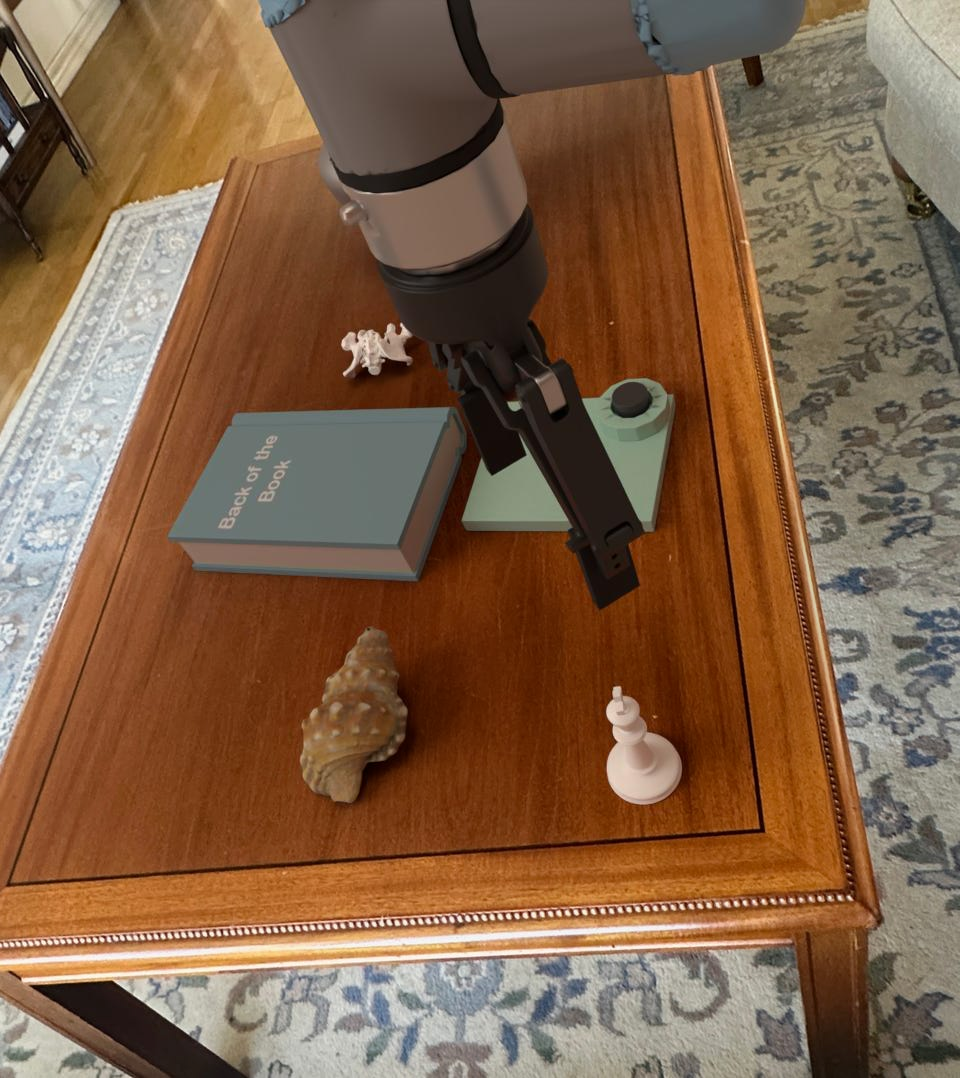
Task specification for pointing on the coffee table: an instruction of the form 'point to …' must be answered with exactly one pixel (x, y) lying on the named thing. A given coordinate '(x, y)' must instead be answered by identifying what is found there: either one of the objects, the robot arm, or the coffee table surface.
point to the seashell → (354, 720)
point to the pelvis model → (376, 349)
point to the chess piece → (639, 756)
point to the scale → (630, 445)
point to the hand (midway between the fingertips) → (557, 523)
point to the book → (324, 493)
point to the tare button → (631, 399)
